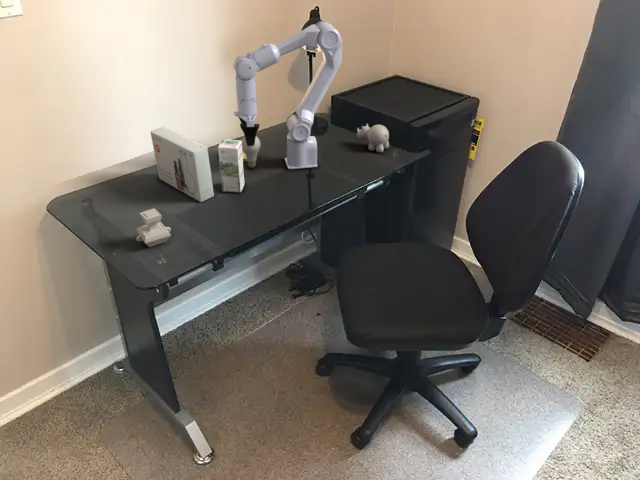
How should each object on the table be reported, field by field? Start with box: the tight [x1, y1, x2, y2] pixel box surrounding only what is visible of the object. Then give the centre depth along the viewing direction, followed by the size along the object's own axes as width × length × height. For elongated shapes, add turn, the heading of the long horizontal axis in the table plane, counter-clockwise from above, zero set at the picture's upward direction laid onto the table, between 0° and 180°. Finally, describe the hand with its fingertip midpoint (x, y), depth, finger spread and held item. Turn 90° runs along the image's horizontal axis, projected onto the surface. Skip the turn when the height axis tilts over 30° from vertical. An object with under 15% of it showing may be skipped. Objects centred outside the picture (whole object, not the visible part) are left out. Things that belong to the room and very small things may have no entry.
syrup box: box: [217, 139, 246, 194], centre depth 164 cm, size 6×6×14 cm
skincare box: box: [149, 126, 215, 203], centre depth 164 cm, size 21×6×16 cm, turn 47°
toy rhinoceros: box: [356, 123, 390, 153], centre depth 192 cm, size 7×12×8 cm, turn 52°
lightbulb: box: [240, 135, 262, 169], centre depth 177 cm, size 6×6×11 cm
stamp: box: [135, 207, 172, 248], centre depth 141 cm, size 9×7×8 cm
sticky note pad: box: [242, 150, 248, 163], centre depth 185 cm, size 8×8×1 cm
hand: (249, 140), depth 175 cm, fingers open, 7 cm apart
